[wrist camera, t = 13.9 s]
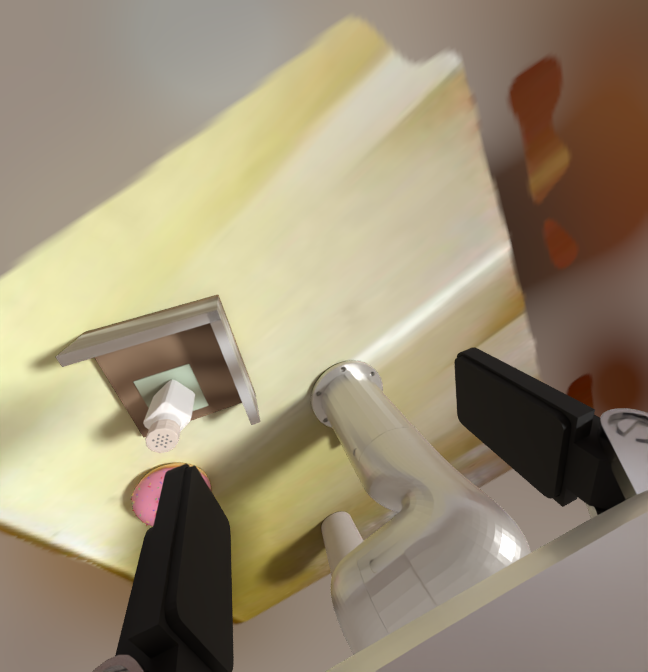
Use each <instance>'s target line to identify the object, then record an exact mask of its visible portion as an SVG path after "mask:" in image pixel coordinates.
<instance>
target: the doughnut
mask: <svg viewBox="0 0 648 672" xmlns="http://www.w3.org/2000/svg"><path fill="white" fill-rule="evenodd" d="M183 464H186V463H171V464H166V465H163V466H160V467H158V468H156V469H154V470H152V471H151V472H149V473H148V474H147V475H145V476H144V477H143V478H142V480H141V481H140V482H139V484H138V485H137V486H136V488H135V489H134V492H133V495H132V497H131V499H132V505H133V506H132V507H133V511H134V512H135V514H136V516H137V517H138V518H139V519H140V520H141V521H142V522H144V523H146V524H147V525H150V526H153V525H154V521H155V516H156V512H157V507H158V503H159V499H160V494H161V490H162V485H163V481H164V476H165V473H166V472H167V471H169V470H171V469H173V468H176V467H178V466H181V465H183ZM188 465H189V466H190V467H191V466H194V465H191V464H188ZM197 469H198V470H199V472H200V474H201V475H202V477H203V479H204V480H205V482H206V484H207V485H208V487H209V489H210V490H211V485H210V481H209V478H208V476H207V475H206V474H205V472H204V471H202V470H201V469H200V468H198V467H197ZM211 491H212V490H211Z"/></svg>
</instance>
